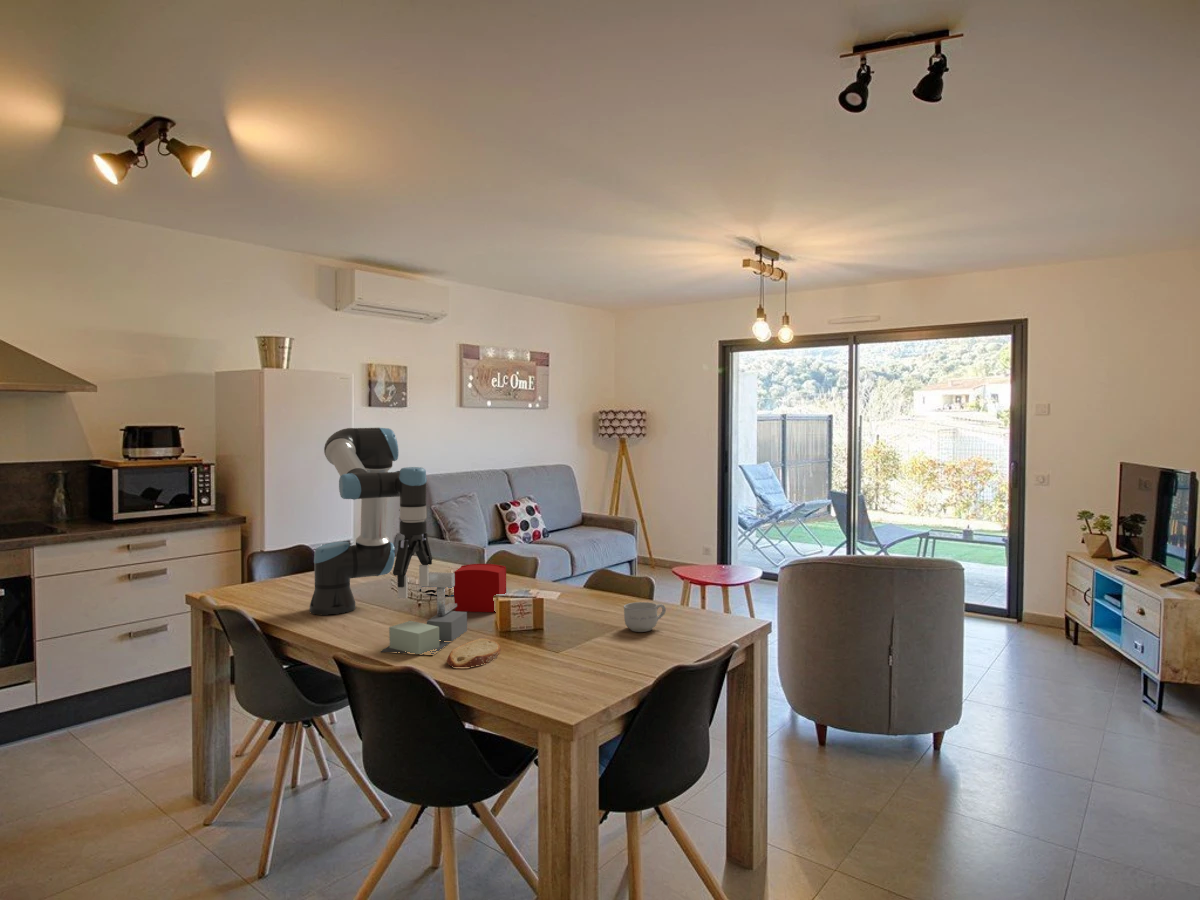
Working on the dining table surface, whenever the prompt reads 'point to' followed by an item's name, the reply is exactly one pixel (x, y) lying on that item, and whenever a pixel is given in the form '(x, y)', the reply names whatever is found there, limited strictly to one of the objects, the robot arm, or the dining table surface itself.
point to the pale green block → (414, 637)
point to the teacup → (642, 615)
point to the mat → (388, 649)
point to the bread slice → (474, 653)
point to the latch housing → (450, 625)
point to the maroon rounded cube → (478, 586)
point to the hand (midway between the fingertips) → (413, 592)
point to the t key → (442, 590)
